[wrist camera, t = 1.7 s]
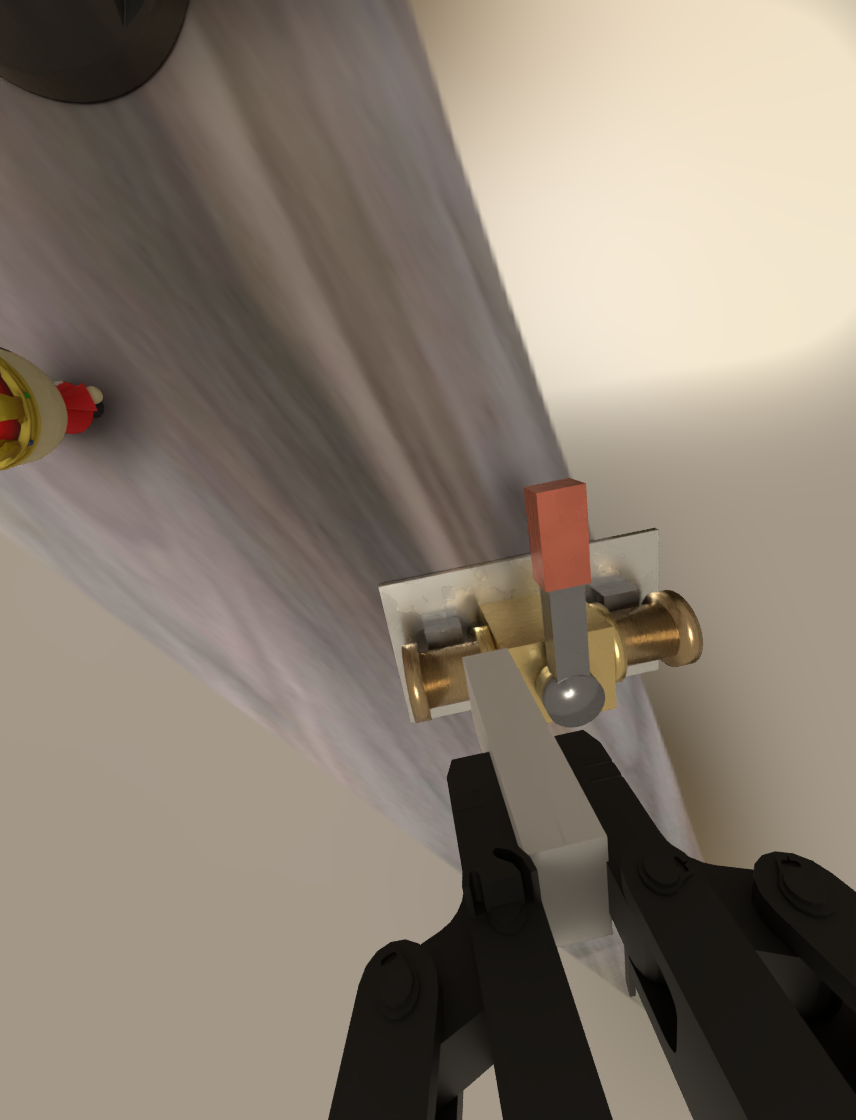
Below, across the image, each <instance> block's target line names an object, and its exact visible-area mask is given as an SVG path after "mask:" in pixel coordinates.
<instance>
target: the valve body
mask: <svg viewBox="0 0 856 1120" xmlns="http://www.w3.org/2000/svg"><path fill="white" fill-rule="evenodd" d="M589 549H590V567H591V583H589V584H585V598H586V614H587V631H588V647H589V664H590V672H591V673H592V674H593V676H594V677H595V678H596V679H597V681H598V682H599V683H600V684H601V686H602V687H603V689H604V692H605V703H604V706H603V708H602V710H601V711H605V710H610V709H614V708H616V683H618V682H622V681H623V680H624V679H625V677H626V676H630V675H635V674H640V673H644V672H649V671H653V670H658V660H661V661H662V662H664V663H665V664H667V665H669V666H671V667H679V666H683V665H688V664H692V663H695V662H696V661H697V660H698V659H699V658H700V656H701V654H702V649H703V648H702V647H703V638H702V632H701V628H700V625H699V622H698V619H697V617H696V615H695V613H694V611H693V610H692V608H691V606H690V605H689V604H688V603H687V601H686V600H685V599H684V598H683V597H682V596H680V595H679V594H678V593H676V592H674V591H671V590H664V591H659V530H658V529H656V528H651V529H647V530H642V531H637V532H632V533H627V534H622V535H617V536H612V537H608V538H603V539H598V540H593V541H589ZM378 587H379V591H380V596H381V600H382V604H383V608H384V612H385V616H386V621H387V625H388V629H389V633H390V637H391V641H392V645H393V650H394V654H395V658H396V662H397V666H398V670H399V675H400V679H401V683H402V687H403V691H404V695H405V699H406V704H407V708H408V712H409V716H410V720H411V723H412V722H416V723H419V722H424V721H428V720H432V718H435V717H440V716H445V715H449V714H454V713H459V712H463V711H468V710H472V709H471V704H470V698H469V693H468V687H467V681H466V676H465V670H464V665H463V659H462V657H466V656H471V655H475V654H480V653H485V652H490V651H494V650H499V649H504V648H507V649H508V651H509V653H510V654H511V656H512V658H513V660H514V662H515V664H516V666H517V668H518V669H519V671H520V673H521V675H522V677H523V679H524V681H525V683H526V685H527V686H528V688H529V690H530V692H531V694H532V696H533V698H534V700H535V701H536V703H537V705H538V707H539V709H540V711H541V713H542V715H543V717H544V718H545V720H546V722H547V723H550V722H554V721H553V720H552V719H551V718H550V716H549V715H548V713H547V711H546V709H545V707H544V706H543V704H542V702H541V700H540V698H539V696H538V695H537V692H536V681H537V678H538V676H539V674H540V672H541V671H542V670H543V669H544V668H545V667H546V666H547V657H546V647H545V637H544V627H543V617H542V607H541V597H540V587H539V585H538V584H537V583H536V581H535V580H534V579H533V571H532V561H531V553H529V554H525V555H520V556H515V557H510V558H505V559H500V560H495V561H490V562H486V563H481V564H476V565H471V566H466V567H461V568H456V569H451V570H446V571H442V572H437V573H432V574H427V575H422V576H417V577H412V578H407V579H403V580H398V581H393V582H388V583H383V584H379V586H378Z"/></svg>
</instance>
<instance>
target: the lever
mask: <svg viewBox="0 0 856 1120" xmlns="http://www.w3.org/2000/svg"><path fill="white" fill-rule="evenodd" d="M524 495H525V504H526V514H527V523H528V533H529V542H530V552H531V561H532V571H533V579H534V580H535V581H536V583H537V584H538V585H539V587H540V597H541V607H542V617H543V627H544V637H545V647H546V657H547V666H546V667H545V668H544V669H543V670H542V671H541V672H540V674H539V676H538V678H537V681H536V692H537V695H538V696H539V698H540V700H541V702H542V704H543V706H544V707H545V709H546V711H547V713H548V715H549V716H550V718H551V719H552V720H553V721H554V722H555V723H556V724H558V725H560V726H563V727H578V726H582V725H584V724H587V723H589V722H590V721H592V720H593V719H594V718H596V717H597V716H598V714H599V713H600V712H601V710H602V708H603V706H604V703H605V692H604V689H603V687H602V686H601V684H600V683H599V682H598V681H597V679H596V678H595V677H594V676H593V674H592V673H591V672H590V664H589V647H588V631H587V614H586V598H585V584H589V583H591V567H590V549H589V531H588V513H587V496H586V483H583V482H580V481H577V480H574V479H571V478H567V479H562V480H557V481H552V482H547V483H542V484H537V485H532V486H527V487H524Z"/></svg>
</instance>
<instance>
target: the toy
mask: <svg viewBox="0 0 856 1120" xmlns="http://www.w3.org/2000/svg"><path fill="white" fill-rule="evenodd" d="M102 400H103V395H102V392H101V391H100V390H99V389H98V388H96V387H93V386H87V387H85V385H84V384H83V383H81V384H79V385H78V386H75V385H73V384H70V383H67V382H64V381H55V382H52V381H51V380H50V379H49V377H48V376H47V375H46V374H45V373H43V372H42V371H41V370H40V369H39V368H38V367H36V366H35V365H33V364H32V363H31V362H29V361H28V360H26V359H24V358H23V357H21V356H19V355H17V354H15V353H13V352H11V351H9V350H6V349H4V348H1V347H0V470H5V469H9V468H11V467H14V466H17V465H21V464H26V463H30V462H34V461H36V460H38V459H41V458H43V457H44V456H46V455H48V454H49V453H51V452H52V451H53V450H54V449H55V448H56V447H57V446H58V445H59V444H60V442H61V440H62V439H63V437H64V435H65V433H69V434H75V433H81V432H83V431H85V430H86V429H88V428H89V426H90V424H91V423H92V421H93V418H98V417H100V416H101V415H102V413H103V407H104V406H103V404H102Z"/></svg>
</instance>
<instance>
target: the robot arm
mask: <svg viewBox="0 0 856 1120" xmlns="http://www.w3.org/2000/svg"><path fill="white" fill-rule="evenodd" d="M187 2H188V0H0V76H1V77H2V78H4V79H6V80H8V81H9V82H11V83H13V84H15V85H17V86H19V87H21V88H23V89H25V90H28V91H30V92H33V93H35V94H38V95H41V96H44V97H48V98H52V99H56V100H62V101H68V102H94V101H101V100H106V99H110V98H113V97H116V96H119V95H121V94H123V93H126V92H128V91H130V90H131V89H133V88H135V87H136V86H138V85H139V84H141V83H142V82H143V81H145V80H146V79H147V78H148V77H149V76H150V75H151V74H152V73H153V72H154V71H155V70H156V69H157V68H158V67H159V65H160V64H161V63H162V61H163V60H164V59H165V57H166V56H167V54H168V53H169V51H170V49H171V47H172V46H173V44H174V42H175V40H176V37H177V35H178V33H179V30H180V28H181V24H182V21H183V18H184V15H185V11H186V7H187ZM462 659H463V665H464V670H465V676H466V681H467V687H468V693H469V698H470V704H471V709H472V715H473V720H474V725H475V729H476V732H477V736H478V739H479V743H480V746H481V750H482V753H481V754H476V755H472V756H467V757H463V758H458V759H453V760H452V761H451V765H450V768H449V772H448V775H447V782H448V788H449V794H450V799H451V806H452V812H453V818H454V824H455V830H456V836H457V842H458V848H459V853H460V859H461V865H462V871H463V872H462V889H463V898H462V902H461V905H460V907H459V909H458V912H457V913H456V915H455V916H454V918H453V919H452V920H451V922H450V923H449V924H448V925H447V926H445V927H444V928H443V929H442V930H441V931H440V932H438V933H437V934H435V935H434V936H432V937H431V938H429V939H428V940H427V941H425V942H424V943H422V944H421V945H420V944H418V943H415V942H412V941H409V940H406V939H405V940H399V941H394V942H390V943H389V944H387V945H386V946H385V947H383V948H381V949H380V950H378V951H377V952H376V953H375V955H374V956H373V957H372V959H371V960H370V961H369V963H368V964H367V966H366V968H365V970H364V973H363V975H362V978H361V981H360V983H359V986H358V991H357V995H356V999H355V1004H354V1008H353V1012H352V1017H351V1021H350V1026H349V1030H348V1034H347V1039H346V1043H345V1048H344V1052H343V1057H342V1061H341V1065H340V1070H339V1074H338V1079H337V1083H336V1088H335V1092H334V1096H333V1100H332V1105H331V1109H330V1114H329V1118H328V1120H462V1112H463V1110H462V1109H463V1090H464V1089H465V1088H467V1087H468V1086H469V1085H470V1084H471V1083H472V1082H474V1081H475V1080H476V1079H477V1078H478V1077H479V1076H481V1075H482V1074H483V1073H484V1072H485V1071H486V1070H487V1069H489V1068H490V1067H491V1066H492V1065H493V1064H494V1068H495V1075H496V1080H497V1087H498V1092H499V1098H500V1104H501V1110H502V1116H503V1120H613V1119H612V1116H611V1113H610V1110H609V1107H608V1103H607V1100H606V1097H605V1094H604V1091H603V1088H602V1085H601V1082H600V1079H599V1076H598V1073H597V1069H596V1066H595V1064H594V1060H593V1057H592V1054H591V1051H590V1048H589V1045H588V1042H587V1039H586V1036H585V1033H584V1030H583V1026H582V1023H581V1020H580V1017H579V1014H578V1011H577V1008H576V1005H575V1002H574V999H573V996H572V993H571V990H570V987H569V983H568V980H567V977H566V974H565V971H564V968H563V965H562V962H561V959H560V956H559V953H558V950H557V947H560V946H565V945H569V944H573V943H577V942H582V941H586V940H590V939H594V938H599V937H603V936H607V935H611V934H613V931H612V920H613V922H614V924H615V926H616V928H617V931H618V933H619V935H620V937H621V939H622V942H623V944H624V952H625V975H626V984H627V987H628V991H629V995H630V997H631V996H636V989H637V992H638V994H639V996H640V999H641V1001H642V1003H643V1005H644V1008H645V1010H646V1012H647V1014H648V1017H649V1019H650V1021H651V1024H652V1026H653V1028H654V1030H655V1033H656V1035H657V1037H658V1040H659V1042H660V1044H661V1047H662V1049H663V1051H664V1053H665V1056H666V1058H667V1060H668V1063H669V1065H670V1067H671V1069H672V1072H673V1074H674V1076H675V1079H676V1081H677V1083H678V1085H679V1088H680V1090H681V1092H682V1094H683V1097H684V1099H685V1101H686V1104H687V1106H688V1108H689V1111H690V1113H691V1115H692V1117H693V1119H694V1120H856V892H855V891H854V890H853V889H851V888H850V887H849V886H848V885H846V884H845V883H844V882H843V881H841V880H840V879H839V878H837V877H836V876H835V875H834V874H832V873H831V872H829V871H828V870H826V869H824V868H823V867H821V866H820V865H818V864H816V863H815V862H814V861H812V860H809V859H806V858H804V857H801V856H798V855H796V854H793V853H784V852H772V853H768V854H765V855H762V856H761V857H760V858H759V859H758V861H757V862H756V863H755V865H754V870H752V869H743V868H734V867H726V866H717V865H712V864H707V863H703V862H700V861H698V860H695V859H693V858H691V857H689V856H687V855H686V854H685V853H684V852H682V851H681V850H679V849H678V848H676V847H674V846H673V845H671V844H670V843H669V842H668V841H667V840H666V839H665V838H664V836H663V835H662V834H661V833H660V831H659V830H658V828H657V827H656V825H655V824H654V822H653V821H652V819H651V818H650V816H649V815H648V813H647V812H646V810H645V809H644V807H643V806H642V804H641V803H640V801H639V800H638V798H637V797H636V795H635V794H634V792H633V791H632V789H631V788H630V786H629V785H628V783H627V782H626V780H625V779H624V777H622V776H621V773H620V771H619V770H618V768H617V767H616V765H615V764H614V763H613V762H612V759H611V758H610V756H609V755H608V753H607V752H606V750H605V749H604V747H603V746H602V744H601V743H600V742H599V741H598V740H596V739H595V738H594V737H592V736H591V735H590V734H588V733H587V732H585V731H584V730H580V731H575V732H571V733H566V734H562V735H557V736H554V735H553V733H552V732H551V730H550V728H549V726H548V724H547V722H546V720H545V718H544V717H543V715H542V713H541V711H540V709H539V707H538V705H537V703H536V701H535V700H534V698H533V696H532V694H531V692H530V690H529V688H528V686H527V685H526V683H525V681H524V679H523V677H522V675H521V673H520V671H519V669H518V668H517V666H516V664H515V662H514V660H513V658H512V656H511V654H510V653H509V651H508V649H507V648H504V649H499V650H494V651H490V652H485V653H480V654H475V655H471V656H466V657H462ZM635 987H636V989H635Z"/></svg>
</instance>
